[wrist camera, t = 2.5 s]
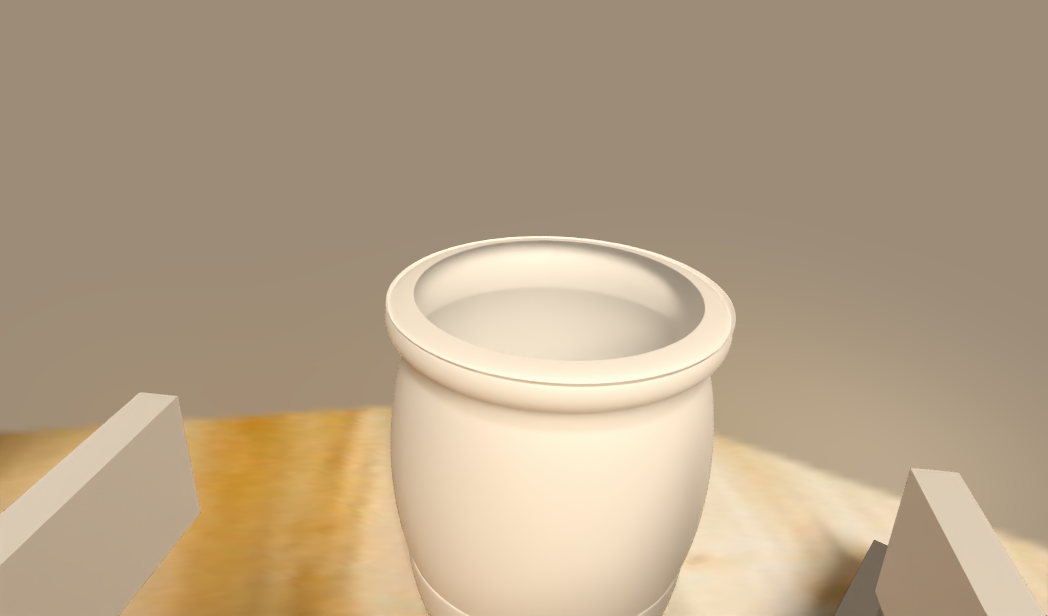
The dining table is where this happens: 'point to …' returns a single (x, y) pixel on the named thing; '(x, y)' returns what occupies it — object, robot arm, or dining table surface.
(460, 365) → the jar
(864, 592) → the tray
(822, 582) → the dining table surface
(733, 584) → the dining table surface
